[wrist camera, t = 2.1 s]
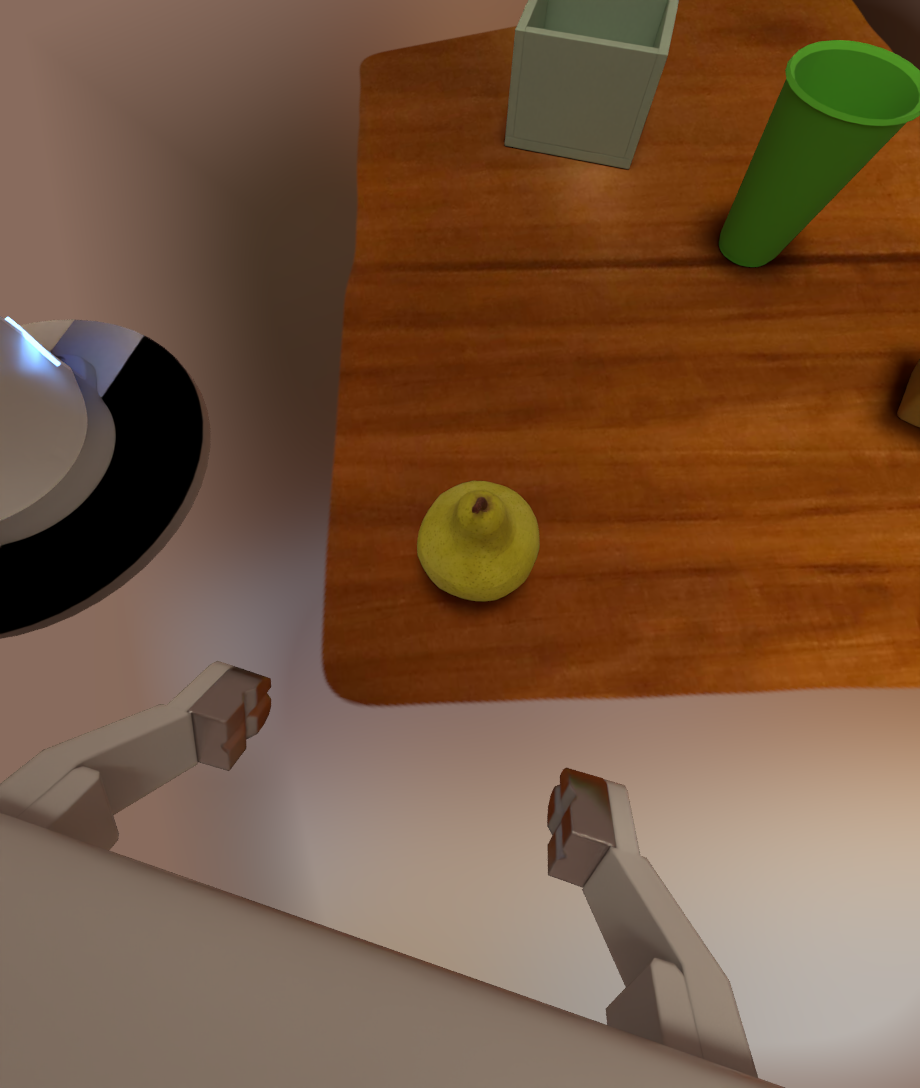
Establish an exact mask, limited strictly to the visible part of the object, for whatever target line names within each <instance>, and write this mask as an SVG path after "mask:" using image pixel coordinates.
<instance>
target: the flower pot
mask: <svg viewBox="0 0 920 1088" xmlns="http://www.w3.org/2000/svg"><path fill="white" fill-rule="evenodd" d="M897 415H898V417H899V418H900V419H902V420H904V421H906V422H908V423H910V424H912V425H915V426H917V427H919V428H920V359H919V361H918V363H917V365H916V367H915V368H914V370H913V372H912V374H911V376H910V379H909V382H908V385H907V387H906V390H905V393H904V396H903V398H902V401H901V404H900V406H899V408H898V411H897Z"/></svg>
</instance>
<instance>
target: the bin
mask: <svg viewBox="0 0 920 1088" xmlns="http://www.w3.org/2000/svg"><path fill="white" fill-rule="evenodd" d="M678 2H679V0H528V2H527V4H526V7H525V9H524V11H523V14H522V16H521V18H520V21H519V23H518V25H517V27H516V30H515V39H514V50H513V61H512V71H511V82H510V93H509V104H508V114H507V125H506V136H505V146H509V147H514V148H520V149H525V150H530V151H535V152H541V153H546V154H551V155H556V156H562V157H567V158H572V159H577V160H583V161H588V162H593V163H598V164H603V165H609V166H614V167H619V168H624V169H629V168H630V165H631V162H632V159H633V156H634V153H635V150H636V147H637V144H638V141H639V138H640V135H641V133H642V130H643V127H644V124H645V121H646V118H647V115H648V112H649V109H650V106H651V103H652V100H653V97H654V94H655V91H656V88H657V85H658V83H659V80H660V77H661V74H662V71H663V68H664V65H665V62H666V59H667V56H668V51H669V46H670V41H671V37H672V32H673V27H674V22H675V17H676V12H677V7H678Z"/></svg>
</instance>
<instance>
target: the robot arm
mask: <svg viewBox="0 0 920 1088" xmlns="http://www.w3.org/2000/svg"><path fill="white" fill-rule="evenodd" d="M115 438H116V436H115V425H114V421H113V418H112V415H111V413H110V411H109V409H108V407H107V406H106V404H105V403H104V402H103V400H102V399H101V397H100V396H99V394H98V392H97V379H96V371H95V368H94V367H93V365H92V364H90V363H89V362H87V361H86V360H85V359H83V358H82V357H80V356H77V355H68V354H53V353H50V352H49V351H48V350H46V349H45V348H43V347H42V346H41V345H40V344H39V343H38V342H37V341H35V340H34V339H33V338H32V337H31V336H30V335H29V334H28V333H27V332H26V331H24V330H23V329H22V328H21V327H20V326H19V325H18V324H16V323H15V322H14V321H13V320H11V319H10V318H9V317H7V318H5V319H4V318H3V317H1V316H0V545H4V544H8V543H11V542H15V541H19V540H22V539H25V538H28V537H30V536H33V535H35V534H37V533H39V532H42V531H44V530H45V529H47V528H49V527H51V526H53V525H54V524H56V523H58V522H59V521H61V520H62V519H64V518H65V517H66V516H68V515H69V514H70V513H72V512H73V511H74V510H75V509H76V508H78V507H79V506H80V505H81V504H82V503H83V502H84V501H85V500H86V499H87V498H88V497H89V496H90V494H91V493H92V492H93V491H94V489H95V488H96V487H97V486H98V484H99V483H100V481H101V480H102V478H103V476H104V474H105V473H106V471H107V469H108V467H109V464H110V462H111V459H112V456H113V452H114V447H115ZM270 688H271V679H270V678H268V677H265V676H262V675H259V674H256V673H253V672H250V671H247V670H244V669H241V668H238V667H235V666H232V665H228V664H226V663H222V662H219V661H217V662H214V663H212V664H211V665H209V666H208V667H207V668H206V669H205V670H204V671H203V672H202V673H201V674H200V675H199V676H197V677H196V678H195V679H194V680H193V681H192V682H191V683H190V684H189V685H188V686H187V687H186V688H185V689H183V690H182V691H181V692H180V693H179V694H178V695H177V696H176V697H175V698H174V699H173V700H172V701H171V702H169V703H168V704H167V705H163V704H160V705H157V706H155V707H152V708H150V709H147V710H144V711H142V712H139V713H137V714H134V715H132V716H129V717H127V718H124V719H121V720H119V721H116V722H114V723H111V724H109V725H106V726H103V727H101V728H98V729H96V730H93V731H91V732H88V733H85V734H83V735H80V736H78V737H75V738H73V739H70V740H68V741H65V742H62V743H60V744H57V745H55V746H52V747H50V748H47V749H45V750H43V751H41V752H40V753H39V754H37V755H36V756H35V757H34V758H32V759H31V760H30V761H29V762H27V763H26V764H25V765H24V766H22V767H21V768H20V769H18V770H17V771H16V772H15V773H13V774H12V775H11V776H10V777H8V778H7V779H6V780H4V781H3V782H2V783H1V784H0V1088H785V1087H782V1086H779V1085H776V1084H773V1083H770V1082H768V1081H765V1080H762V1079H759V1078H758V1076H757V1072H756V1069H755V1065H754V1062H753V1059H752V1055H751V1052H750V1049H749V1045H748V1042H747V1038H746V1035H745V1032H744V1028H743V1025H742V1021H741V1018H740V1015H739V1011H738V1008H737V1005H736V1001H735V998H734V994H733V991H732V988H731V985H730V981H729V979H728V978H727V976H726V975H725V973H724V972H723V970H722V969H721V967H720V966H719V964H718V963H717V962H716V960H715V959H714V957H713V956H712V954H711V953H710V951H709V950H708V948H707V947H706V945H705V944H704V943H703V941H702V939H701V938H700V936H699V935H698V933H697V932H696V930H695V929H694V928H693V926H692V925H691V923H690V922H689V920H688V919H687V917H686V916H685V914H684V913H683V912H682V910H681V908H680V907H679V905H678V904H677V902H676V901H675V899H674V898H673V897H672V895H671V894H670V892H669V890H668V889H667V888H666V886H665V885H664V883H663V882H662V880H661V879H660V877H659V876H658V874H657V873H656V871H655V870H654V868H653V867H652V865H651V864H650V862H649V861H648V859H647V858H645V857H643V856H640V852H639V847H638V841H637V837H636V831H635V827H634V822H633V816H632V812H631V806H630V801H629V797H628V792H627V789H626V787H625V786H624V785H622V784H618V783H615V782H612V781H608V780H605V779H603V778H600V777H597V776H593V775H590V774H586V773H583V772H579V771H576V770H572V769H569V768H565V769H564V770H563V771H562V773H561V775H560V785H557V786H555V787H554V789H553V791H552V794H551V796H550V801H549V805H548V816H547V817H548V818H547V819H548V820H547V821H548V822H547V823H548V828H549V830H550V832H551V833H552V835H553V836H552V838H551V840H550V842H549V844H548V875H549V876H552V877H555V878H558V879H560V880H563V881H566V882H569V883H571V884H574V885H577V886H580V887H583V889H582V890H583V893H584V895H585V897H586V899H587V901H588V904H589V906H590V908H591V910H592V913H593V915H594V917H595V919H596V922H597V924H598V926H599V928H600V931H601V933H602V935H603V937H604V939H605V942H606V944H607V946H608V948H609V951H610V953H611V955H612V957H613V960H614V962H615V964H616V966H617V969H618V971H619V973H620V975H621V977H622V980H623V982H624V984H625V986H626V988H625V989H624V990H623V991H622V993H620V994H619V995H618V996H617V997H616V999H615V1000H614V1001H613V1002H612V1003H611V1004H610V1005H609V1006H608V1007H607V1008H606V1016H607V1025H605V1024H602V1023H599V1022H597V1021H594V1020H591V1019H588V1018H585V1017H582V1016H579V1015H577V1014H574V1013H571V1012H568V1011H565V1010H562V1009H560V1008H557V1007H554V1006H551V1005H548V1004H545V1003H542V1002H540V1001H536V1000H534V999H531V998H528V997H525V996H522V995H520V994H517V993H514V992H511V991H508V990H505V989H502V988H500V987H497V986H494V985H491V984H488V983H485V982H483V981H480V980H477V979H474V978H471V977H468V976H465V975H463V974H460V973H457V972H454V971H451V970H448V969H445V968H443V967H440V966H437V965H434V964H431V963H428V962H425V961H423V960H420V959H417V958H414V957H411V956H408V955H406V954H403V953H400V952H397V951H394V950H391V949H388V948H386V947H383V946H380V945H377V944H374V943H371V942H368V941H366V940H363V939H360V938H357V937H354V936H351V935H348V934H346V933H342V932H340V931H337V930H334V929H331V928H328V927H326V926H323V925H320V924H317V923H314V922H311V921H309V920H306V919H303V918H300V917H297V916H294V915H291V914H289V913H286V912H283V911H280V910H277V909H274V908H271V907H269V906H266V905H263V904H260V903H257V902H254V901H252V900H249V899H246V898H243V897H240V896H237V895H234V894H232V893H228V892H225V891H223V890H220V889H217V888H214V887H211V886H209V885H206V884H203V883H200V882H197V881H194V880H192V879H188V878H186V877H183V876H180V875H177V874H174V873H172V872H169V871H166V870H163V869H160V868H157V867H154V866H152V865H148V864H145V863H143V862H140V861H137V860H134V859H132V858H129V857H126V856H123V855H120V854H117V853H114V852H111V851H109V850H110V849H111V847H112V846H113V845H114V844H115V843H116V842H117V840H118V834H119V833H118V830H117V826H116V823H115V820H114V817H113V815H114V814H116V813H118V812H119V811H121V810H122V809H124V808H126V807H127V806H129V805H131V804H133V803H134V802H136V801H138V800H139V799H141V798H142V797H144V796H146V795H147V794H149V793H150V792H152V791H154V790H156V789H157V788H159V787H161V786H162V785H164V784H165V783H167V782H169V781H171V780H172V779H174V778H176V777H177V776H179V775H180V774H182V773H184V772H185V771H187V770H189V769H190V768H192V767H194V766H195V765H197V763H198V762H200V763H203V764H207V765H210V766H213V767H217V768H220V769H224V770H227V771H229V770H230V769H231V768H232V767H233V765H234V764H235V763H236V761H237V760H238V759H239V757H240V756H241V755H242V753H243V752H244V751H245V749H246V739H248V738H250V737H252V736H254V735H256V734H257V733H258V732H259V730H260V729H261V728H262V726H263V725H264V723H265V721H266V719H267V717H268V715H269V712H270V708H271V698H270V697H269V695H268V694H267V692H268V690H269V689H270Z"/></svg>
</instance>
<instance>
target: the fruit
mask: <svg viewBox="0 0 920 1088" xmlns="http://www.w3.org/2000/svg"><path fill="white" fill-rule="evenodd" d="M538 551H539V529H538V524H537V519H536V517H535V516H534V514H533V512H532V510H531V508H530V506H529V505H528V504H527V502H526V501H525V500H524V499H523V498H522V497H521V496H520V495H519V494H517V493H516V492H515V491H513V490H511V489H510V488H508V487H505V486H502V485H498V484H495V483H491V482H487V481H470V482H465V483H462V484H459V485H457V486H455V487H453V488H451V489H449V490H447V491H446V492H444V493H442V494H441V495H440V496H439V497H438V498H437V500H436V501H435V502H434V503H433V505H432V506H431V508H430V509H429V510H428V512H427V514H426V516H425V517H424V519H423V521H422V524H421V527H420V530H419V535H418V541H417V554H418V557H419V560H420V562H421V564H422V567H423V569H424V570H425V572H426V573H427V575H428V576H429V578H430V579H431V580H432V581H433V582H434V583H435V584H436V585H437V586H438V588H440V589H442V590H444V591H446V592H448V593H450V594H452V595H454V596H457V597H460V598H462V599H467V600H472V601H492V600H497V599H499V598H501V597H504V596H506V595H508V594H509V593H511V592H512V591H514V590H515V589H517V588H518V587H519V586H520V585H521V584H522V583H524V582H525V580H526V578H527V577H528V575H529V573H530V572H531V570H532V567H533V565H534V563H535V561H536V558H537V555H538Z"/></svg>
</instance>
